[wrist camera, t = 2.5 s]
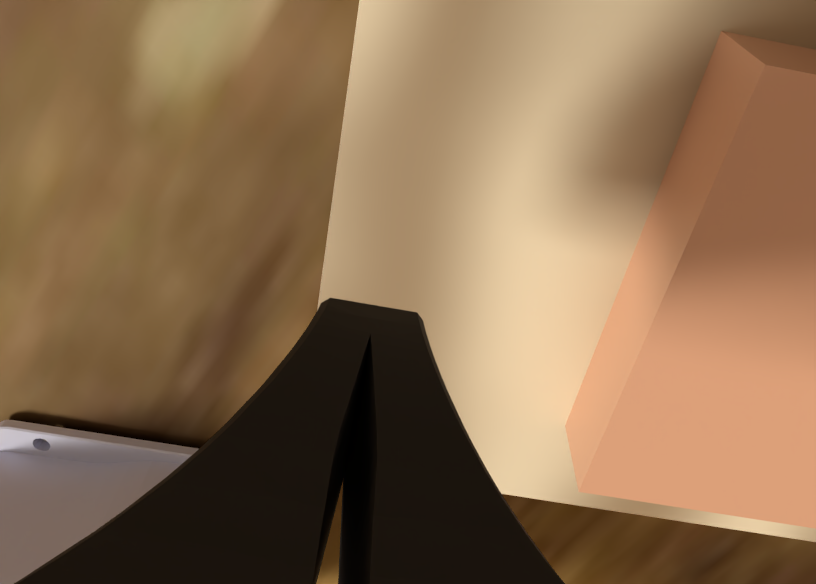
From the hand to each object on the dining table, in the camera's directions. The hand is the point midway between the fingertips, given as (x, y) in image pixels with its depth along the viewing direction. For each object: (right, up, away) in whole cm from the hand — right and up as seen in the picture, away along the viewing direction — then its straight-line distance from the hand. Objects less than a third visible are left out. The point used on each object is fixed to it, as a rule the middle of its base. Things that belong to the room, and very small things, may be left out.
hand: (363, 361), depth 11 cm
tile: (+8, +1, +4) cm, 9 cm away
